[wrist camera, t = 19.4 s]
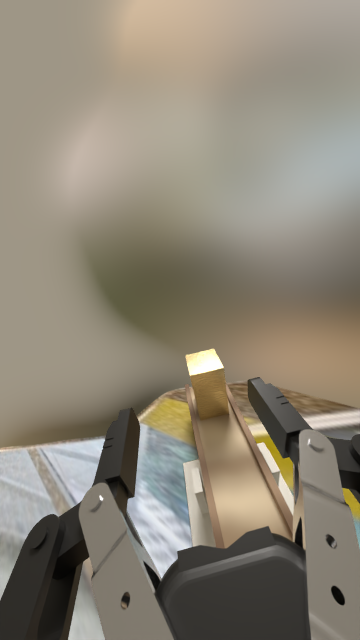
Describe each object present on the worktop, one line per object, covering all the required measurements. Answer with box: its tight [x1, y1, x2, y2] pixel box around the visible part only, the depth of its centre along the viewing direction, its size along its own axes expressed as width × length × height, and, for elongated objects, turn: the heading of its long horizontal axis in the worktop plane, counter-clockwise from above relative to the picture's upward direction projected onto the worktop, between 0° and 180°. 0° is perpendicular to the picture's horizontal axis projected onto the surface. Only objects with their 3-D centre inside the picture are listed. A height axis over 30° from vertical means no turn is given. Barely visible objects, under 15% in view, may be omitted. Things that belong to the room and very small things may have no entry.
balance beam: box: [185, 384, 293, 549], centre depth 21 cm, size 30×8×3 cm, turn 7°
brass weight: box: [186, 349, 229, 421], centre depth 29 cm, size 5×5×10 cm
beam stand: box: [183, 442, 294, 547], centre depth 23 cm, size 10×14×7 cm
